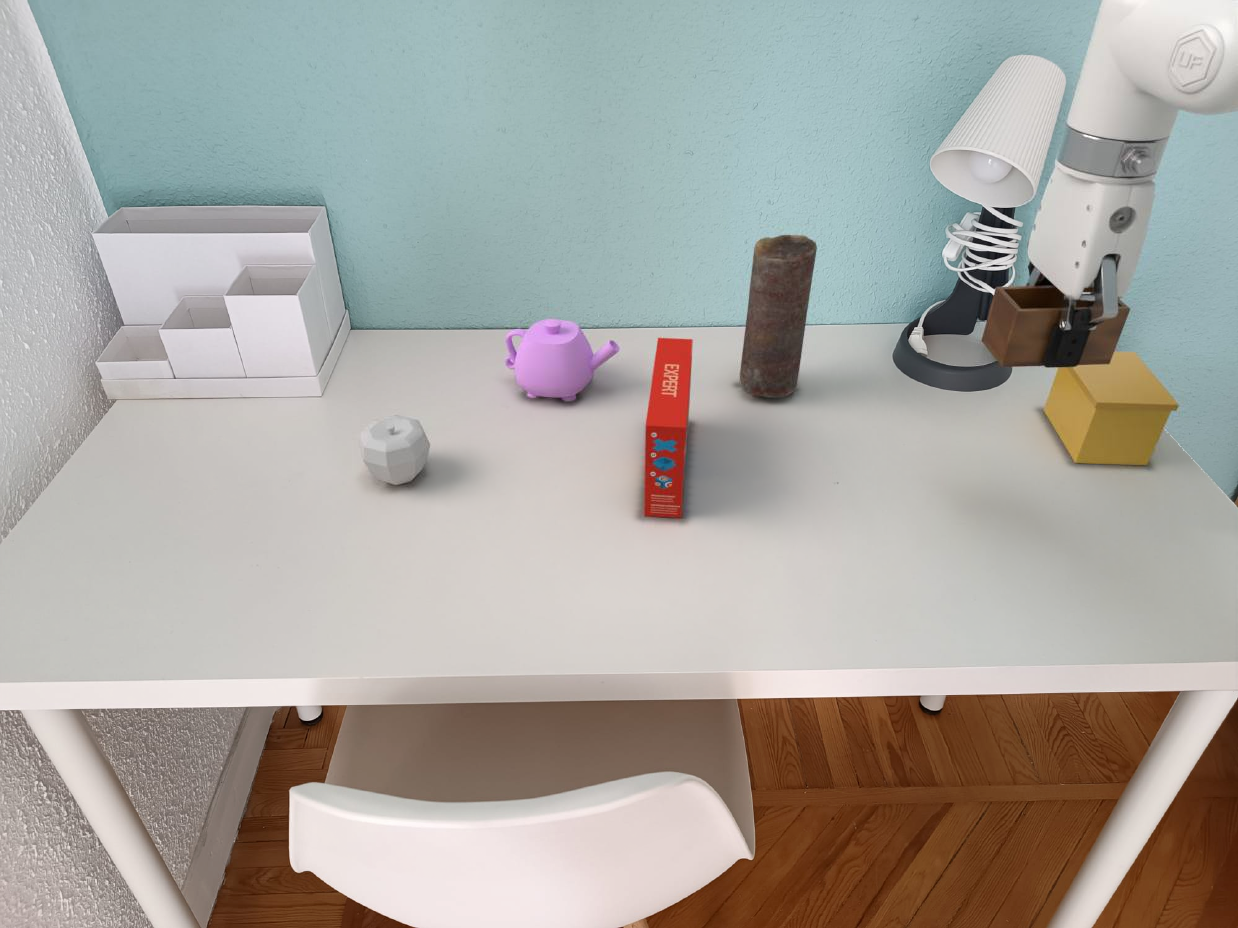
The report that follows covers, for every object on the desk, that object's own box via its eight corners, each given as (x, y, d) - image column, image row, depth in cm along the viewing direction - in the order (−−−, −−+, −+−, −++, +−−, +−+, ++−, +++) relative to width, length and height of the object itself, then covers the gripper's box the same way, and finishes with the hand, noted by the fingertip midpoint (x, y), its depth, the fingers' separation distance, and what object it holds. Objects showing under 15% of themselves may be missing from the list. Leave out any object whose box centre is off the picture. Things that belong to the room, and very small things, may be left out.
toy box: (655, 421, 106) (657, 337, 100) (688, 423, 106) (692, 339, 99) (644, 516, 92) (645, 425, 85) (681, 518, 92) (686, 427, 85)
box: (1151, 467, 99) (1179, 404, 94) (1073, 464, 99) (1097, 402, 94) (1111, 411, 108) (1134, 351, 103) (1040, 409, 108) (1060, 349, 103)
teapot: (518, 362, 118) (512, 299, 113) (626, 372, 116) (626, 308, 110) (495, 402, 110) (488, 337, 105) (611, 414, 108) (610, 348, 102)
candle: (800, 406, 109) (822, 255, 97) (741, 406, 109) (756, 255, 97) (791, 375, 115) (811, 229, 103) (736, 375, 115) (749, 229, 103)
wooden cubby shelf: (1083, 338, 84) (1102, 284, 80) (1109, 364, 80) (1130, 308, 76) (981, 340, 83) (995, 286, 80) (1001, 367, 79) (1018, 311, 76)
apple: (372, 454, 101) (361, 407, 97) (440, 453, 101) (432, 406, 97) (357, 498, 95) (345, 448, 91) (429, 496, 95) (421, 447, 91)
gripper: (1217, 186, 64) (1131, 397, 75) (1103, 121, 77) (1044, 308, 88) (1117, 188, 63) (1045, 400, 74) (1020, 123, 77) (971, 309, 88)
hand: (1045, 348), depth 81 cm, fingers closed on wooden cubby shelf, 5 cm apart
